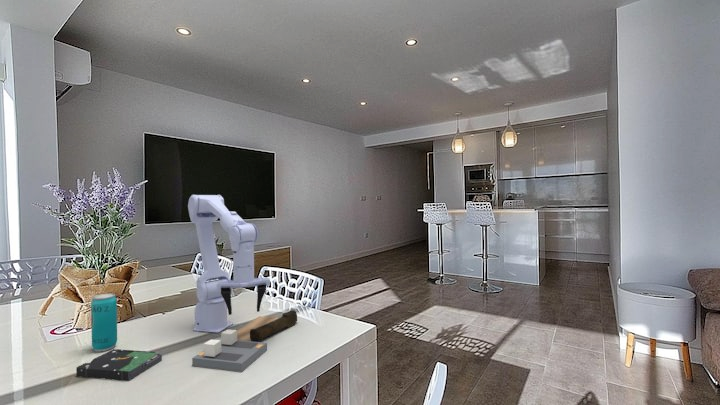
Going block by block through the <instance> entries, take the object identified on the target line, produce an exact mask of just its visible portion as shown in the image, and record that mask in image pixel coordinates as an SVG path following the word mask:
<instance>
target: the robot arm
mask: <svg viewBox="0 0 720 405" xmlns="http://www.w3.org/2000/svg"><path fill="white" fill-rule="evenodd" d="M187 209H188V215H189V218H190V222H192V223H193V224H195V228H196V234H197V239H198V246H199V250H200V257H201V263H202V267H203V268H202V269H203V273H202V274H201V275H200V276H199V277H198V278H197V280H196V283H195V284H196V297H197V300H198V302H197V303H196V304H195V307H194V328H192V331H194V332H208V333H220V332H223V331H225V329H227V328H229V327H230V326H232V325H233V324H234V322H232V321H228V316H231V315H232V312H233V311H232V310H233V309H232V308H233V306H232V293H233V290H234V289H241V288H253V287H256V288H257V290H256V291H257V292H256V293H257V294H256V295H257V299H256V301H257V302H256V313H257V312H258V313H259V312H260V310H261V304H262V301H263V297H264V295H265V294H266V291H267V287H269V286H271V278H270V277H262V278H261V277H255V245H254V244H255V243H256V242H257V240H258V238H259V235H258V234H259V231H258V228H257V226H256V225H255V224H254V223H253V222H251V223H249V222H248V223H247V222H246V221H245V220H244V219H243V218H242V217H241V216H240V215H239V214H238V213H237V211H230V210H229V209H228V208H227V206H226V205H225V199H224V197H223V196H222V195H221V194H217V195H216V194H191V196H190V197H189V199H188V203H187ZM218 219H219V224H220V226H221V227H222V229H223V230H224V231H226V233H227V234H228V239H229V242H230V249H231V251H232V258H233V259H232V261H233V264H232V265H233V267H232V268H233V270H232V271H233V274H232V275H233V279H231V278H230V275H229V272H227V271H225V270H224V269H222V268H221V266H220V261H219V254H218V251H217V244H216V241H215V240H216V239H215V234H214V229H213V223H214V222H216V221H217V220H218Z"/></svg>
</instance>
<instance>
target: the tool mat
mask: <svg viewBox="0 0 720 405" xmlns="http://www.w3.org/2000/svg"><path fill="white" fill-rule="evenodd" d="M279 318H280V317H275V316H274V317H272V316H259V315H258V316H257V317H256V318H254V319H253V320H251V321H250V322H248V323H246V324H245V325H243V326H242V327H240V328H239V329H236V330H237V340H242V341H251V339H250V330H251V329H256V328H258V327H261V326H263V325H265V324H268V323H270V322H272V321H274V320H276V319H279Z"/></svg>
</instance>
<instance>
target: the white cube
mask: <svg viewBox="0 0 720 405" xmlns="http://www.w3.org/2000/svg"><path fill="white" fill-rule="evenodd" d="M203 351H204V356H211V357H215V356H216V355H218V354H219V353H220V352H221V339H209V340H207V341H206V342H204V343H203Z"/></svg>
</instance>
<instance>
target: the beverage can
mask: <svg viewBox="0 0 720 405" xmlns="http://www.w3.org/2000/svg"><path fill="white" fill-rule="evenodd" d="M91 298H92V300H91V303H90V308H91V309H90V315H91V317H90V320H91V347H92V348H93V350H94V352H95V353H101V351H103V352H108V351H111V350H113V349H114V348H115V347H116V344H117V342H118V307H117V306H118V304H117V302H118V301H117V297H116V294H115V293H112V292H111V293H102V294H97V295H94V296H92V297H91ZM107 350H108V351H107Z"/></svg>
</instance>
